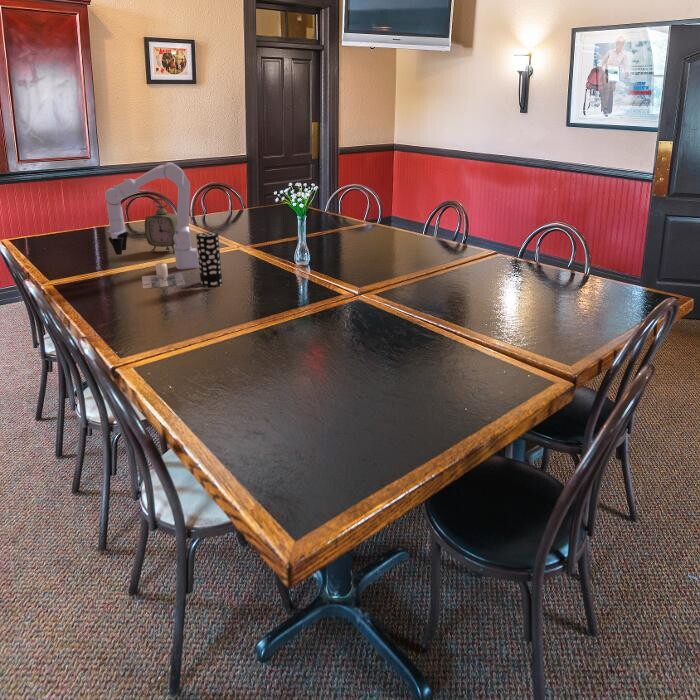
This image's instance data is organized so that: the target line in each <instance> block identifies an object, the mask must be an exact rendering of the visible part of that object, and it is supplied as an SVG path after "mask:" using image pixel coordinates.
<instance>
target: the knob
mask: <svg viewBox="0 0 700 700" xmlns="http://www.w3.org/2000/svg"><path fill="white" fill-rule="evenodd" d="M155 271H156V272H155V273H156V274H155V275H157V277H159V278H165V277H167V276H168V274H169V271H168V264H167V263H165V262H159V263H156V264H155Z"/></svg>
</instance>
